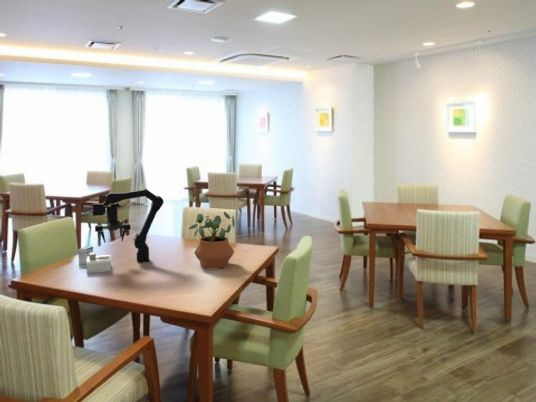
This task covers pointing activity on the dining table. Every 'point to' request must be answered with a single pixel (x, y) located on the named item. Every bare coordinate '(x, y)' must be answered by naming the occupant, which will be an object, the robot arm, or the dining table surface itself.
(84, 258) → the medicine box
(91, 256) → the peg
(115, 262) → the dining table surface
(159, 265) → the dining table surface
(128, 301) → the dining table surface
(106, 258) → the keyhole plate
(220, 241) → the potted plant
